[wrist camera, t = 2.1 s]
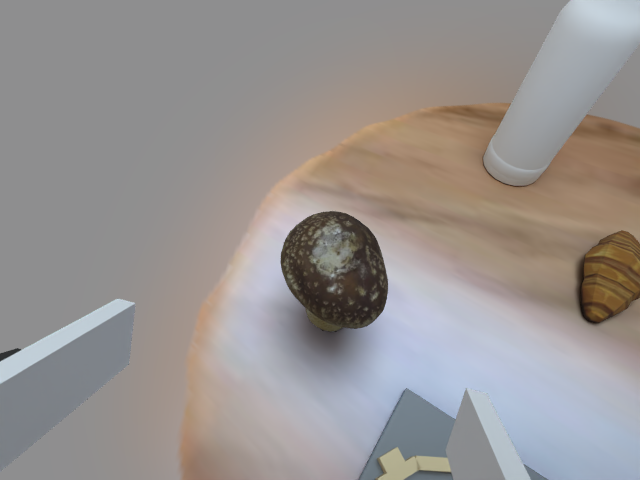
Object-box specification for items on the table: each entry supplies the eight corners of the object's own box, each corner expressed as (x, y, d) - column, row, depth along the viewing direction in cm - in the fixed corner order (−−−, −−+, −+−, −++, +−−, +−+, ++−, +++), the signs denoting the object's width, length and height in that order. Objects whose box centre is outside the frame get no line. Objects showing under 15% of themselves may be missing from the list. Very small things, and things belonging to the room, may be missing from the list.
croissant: (618, 342, 41) (654, 327, 36) (555, 306, 43) (582, 287, 38) (647, 254, 46) (681, 232, 42) (590, 226, 48) (617, 202, 44)
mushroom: (295, 276, 44) (288, 193, 31) (370, 284, 43) (395, 203, 31) (282, 359, 39) (267, 301, 26) (367, 369, 38) (394, 315, 26)
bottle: (471, 168, 53) (619, -119, 27) (496, 137, 56) (648, -145, 31) (526, 197, 50) (746, -90, 25) (549, 162, 54) (763, -122, 28)
